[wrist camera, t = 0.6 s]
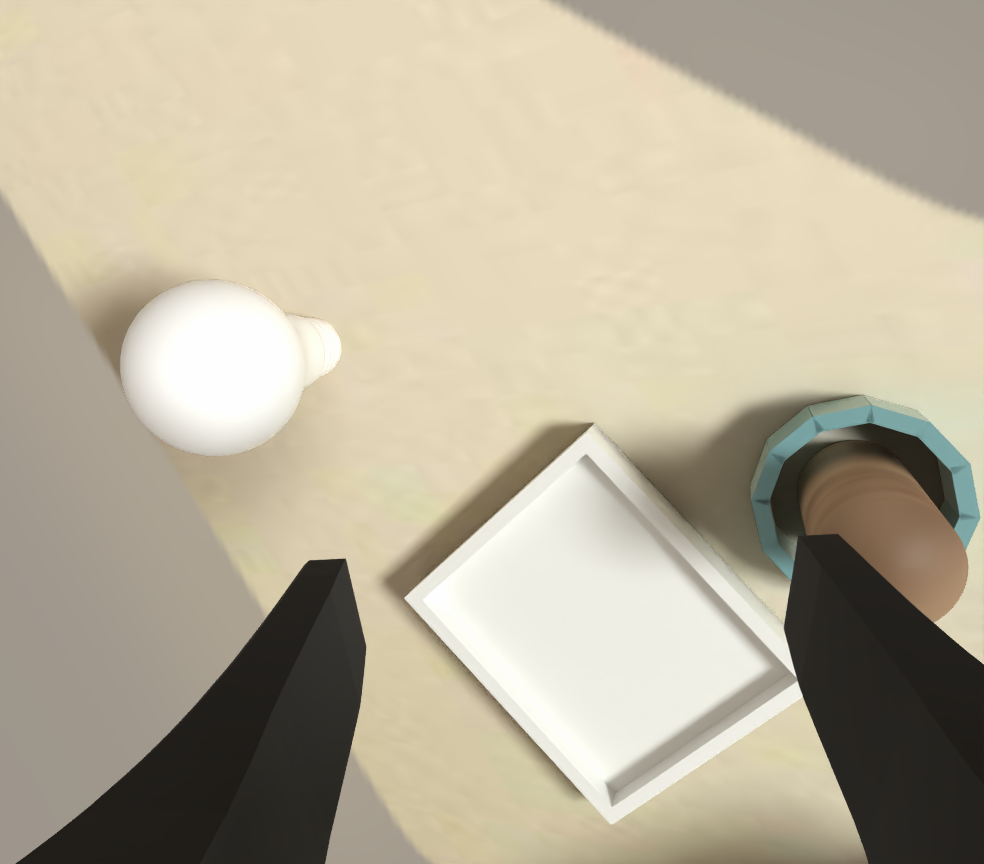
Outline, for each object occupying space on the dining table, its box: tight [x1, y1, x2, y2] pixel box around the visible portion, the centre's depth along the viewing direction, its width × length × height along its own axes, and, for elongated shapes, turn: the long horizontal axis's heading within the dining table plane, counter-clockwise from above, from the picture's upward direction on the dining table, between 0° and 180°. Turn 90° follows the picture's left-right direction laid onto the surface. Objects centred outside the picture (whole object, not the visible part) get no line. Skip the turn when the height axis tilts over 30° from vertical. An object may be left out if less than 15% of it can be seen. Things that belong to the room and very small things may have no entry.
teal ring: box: [750, 395, 980, 580], centre depth 30 cm, size 7×7×2 cm
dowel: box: [797, 440, 968, 623], centre depth 27 cm, size 4×4×8 cm
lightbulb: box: [120, 279, 341, 456], centre depth 31 cm, size 6×6×11 cm
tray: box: [404, 423, 803, 825], centre depth 34 cm, size 13×11×2 cm
